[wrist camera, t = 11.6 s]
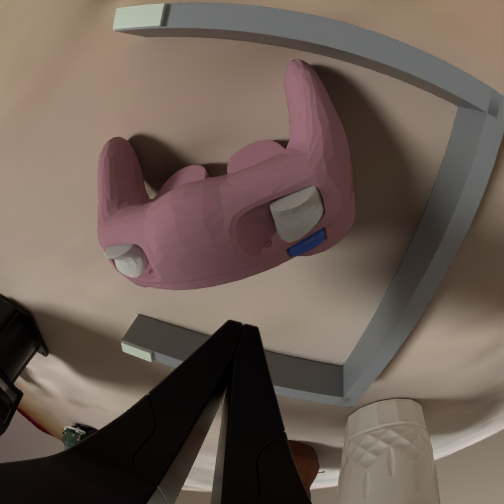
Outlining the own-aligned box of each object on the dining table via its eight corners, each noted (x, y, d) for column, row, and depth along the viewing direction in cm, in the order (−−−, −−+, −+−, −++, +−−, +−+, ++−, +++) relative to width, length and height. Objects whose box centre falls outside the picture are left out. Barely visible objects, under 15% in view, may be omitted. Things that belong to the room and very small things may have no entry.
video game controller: (155, 195, 15) (126, 318, 12) (103, 136, 12) (40, 263, 8) (339, 137, 12) (382, 274, 8) (311, 46, 9) (371, 156, 5)
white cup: (431, 421, 20) (440, 517, 12) (352, 442, 23) (347, 534, 15) (424, 381, 17) (441, 508, 9) (325, 408, 20) (315, 528, 12)
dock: (350, 377, 18) (351, 410, 16) (139, 324, 19) (122, 351, 17) (480, 96, 8) (514, 101, 6) (149, 17, 9) (116, 7, 7)
